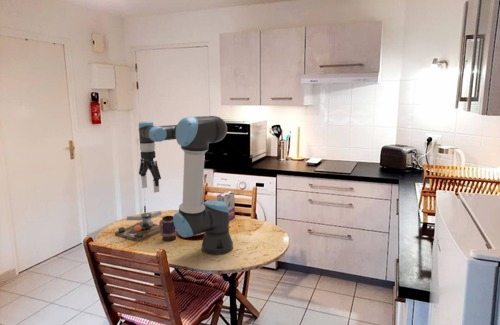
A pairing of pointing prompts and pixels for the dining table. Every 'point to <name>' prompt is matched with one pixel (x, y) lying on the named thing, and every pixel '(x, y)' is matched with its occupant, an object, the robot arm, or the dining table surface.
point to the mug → (167, 228)
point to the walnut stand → (137, 233)
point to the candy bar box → (228, 202)
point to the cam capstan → (145, 220)
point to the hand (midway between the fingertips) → (150, 189)
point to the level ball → (137, 228)
